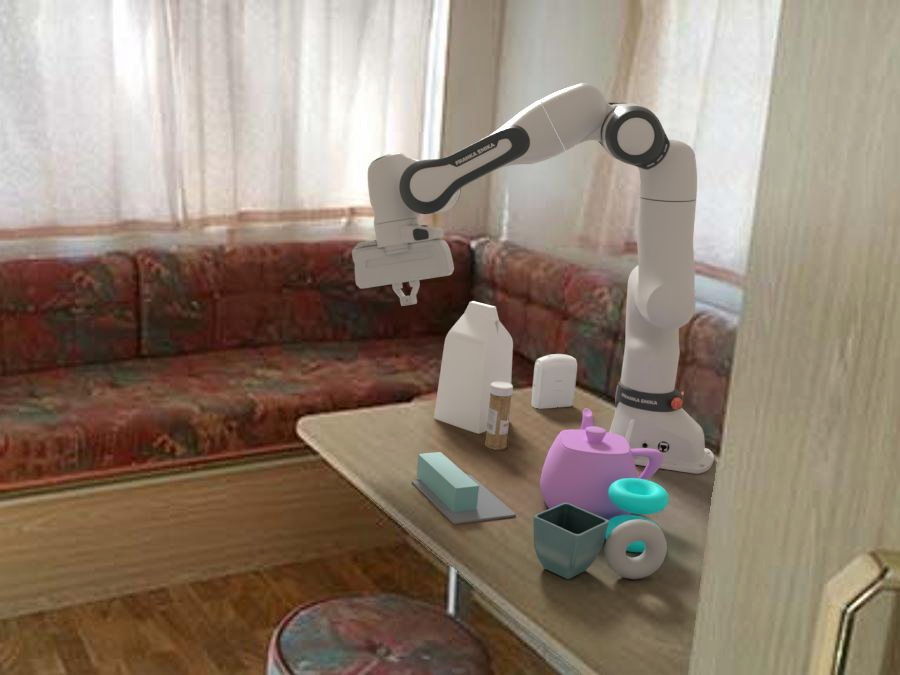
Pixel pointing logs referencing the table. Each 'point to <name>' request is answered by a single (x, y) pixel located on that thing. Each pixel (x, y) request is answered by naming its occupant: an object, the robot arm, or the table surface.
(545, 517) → the flower pot
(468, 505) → the teal block
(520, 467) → the table surface
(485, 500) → the grey mat
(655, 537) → the donut
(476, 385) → the milk
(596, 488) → the teapot
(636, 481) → the donuts
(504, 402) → the sprinkles bottle
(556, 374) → the photo printer
